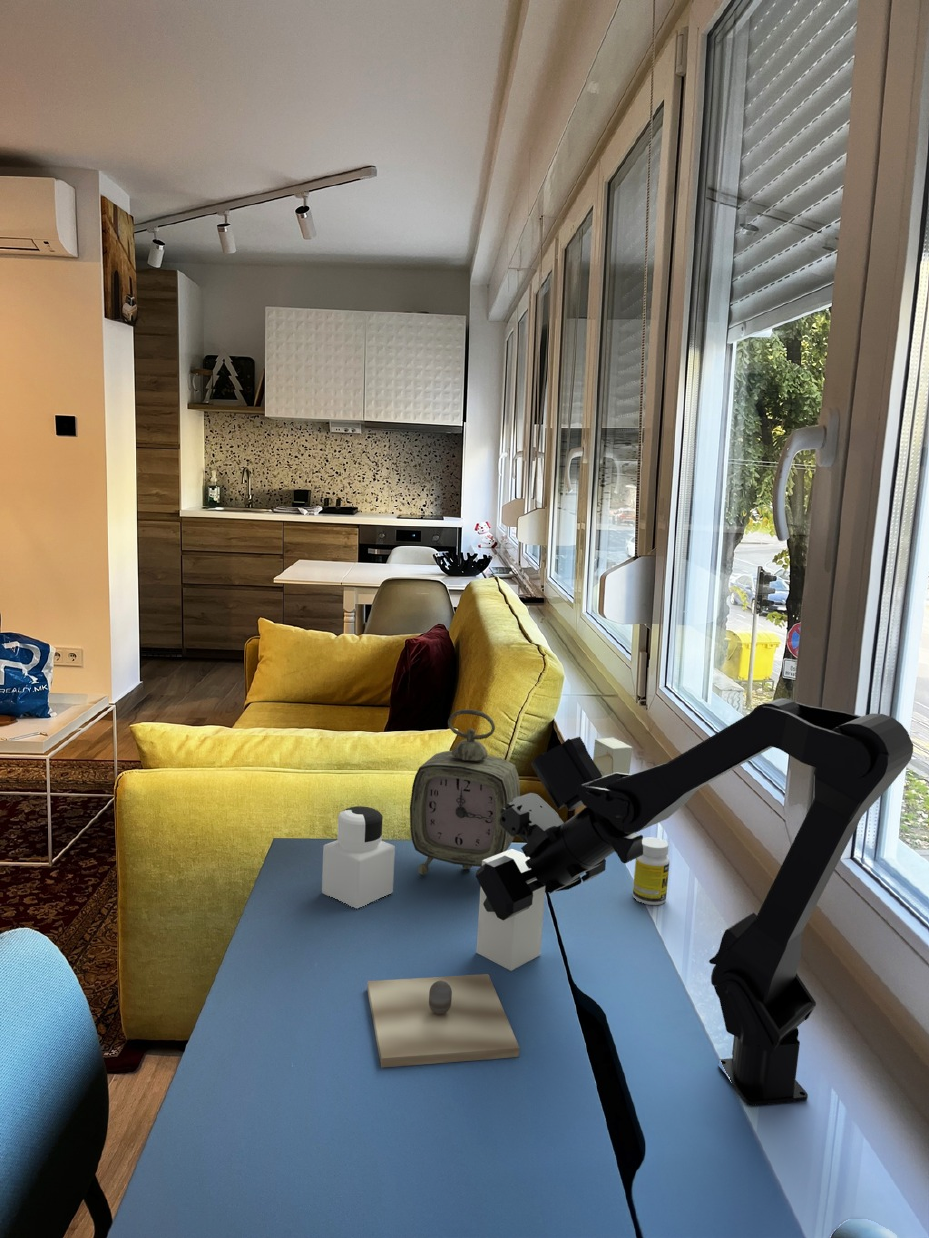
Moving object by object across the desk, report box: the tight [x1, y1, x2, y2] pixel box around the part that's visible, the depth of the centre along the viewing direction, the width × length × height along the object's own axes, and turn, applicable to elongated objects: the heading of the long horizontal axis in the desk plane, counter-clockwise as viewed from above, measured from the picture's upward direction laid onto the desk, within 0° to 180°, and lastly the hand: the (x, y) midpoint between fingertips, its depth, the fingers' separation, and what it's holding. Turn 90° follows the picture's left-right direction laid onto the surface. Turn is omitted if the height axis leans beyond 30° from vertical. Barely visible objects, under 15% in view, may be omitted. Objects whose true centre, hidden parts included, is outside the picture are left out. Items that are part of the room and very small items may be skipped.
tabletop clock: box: [409, 708, 521, 876], centre depth 133 cm, size 14×9×25 cm, turn 73°
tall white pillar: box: [476, 848, 546, 972], centre depth 112 cm, size 6×6×12 cm
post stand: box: [366, 973, 520, 1069], centre depth 98 cm, size 14×14×4 cm
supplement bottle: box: [632, 836, 671, 906], centre depth 130 cm, size 5×5×8 cm
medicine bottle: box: [321, 805, 396, 908], centre depth 126 cm, size 7×7×12 cm
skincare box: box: [592, 737, 633, 777], centre depth 166 cm, size 6×4×12 cm
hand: (503, 899), depth 113 cm, fingers open, 6 cm apart
